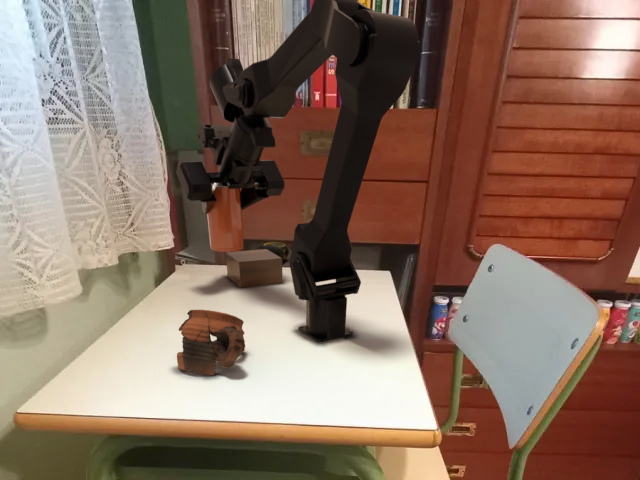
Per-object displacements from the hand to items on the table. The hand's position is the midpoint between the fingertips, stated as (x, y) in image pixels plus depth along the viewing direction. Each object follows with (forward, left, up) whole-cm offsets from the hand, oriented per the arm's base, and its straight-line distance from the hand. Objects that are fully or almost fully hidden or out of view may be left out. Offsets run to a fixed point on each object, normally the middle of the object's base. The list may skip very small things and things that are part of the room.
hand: (221, 210), depth 92 cm
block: (-2, -6, -13) cm, 15 cm away
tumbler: (-1, 0, -7) cm, 7 cm away
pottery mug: (-37, +17, -14) cm, 43 cm away
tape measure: (+10, -17, -14) cm, 24 cm away
